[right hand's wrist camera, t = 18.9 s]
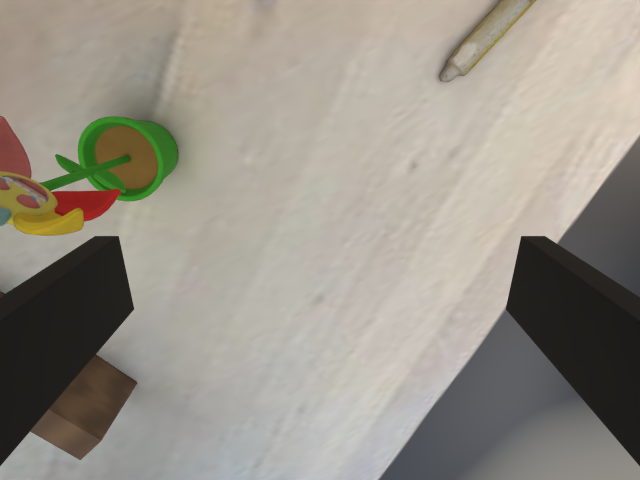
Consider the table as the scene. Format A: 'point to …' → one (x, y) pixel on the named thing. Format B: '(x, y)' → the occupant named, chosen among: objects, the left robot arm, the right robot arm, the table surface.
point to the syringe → (484, 37)
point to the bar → (85, 408)
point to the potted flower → (84, 175)
